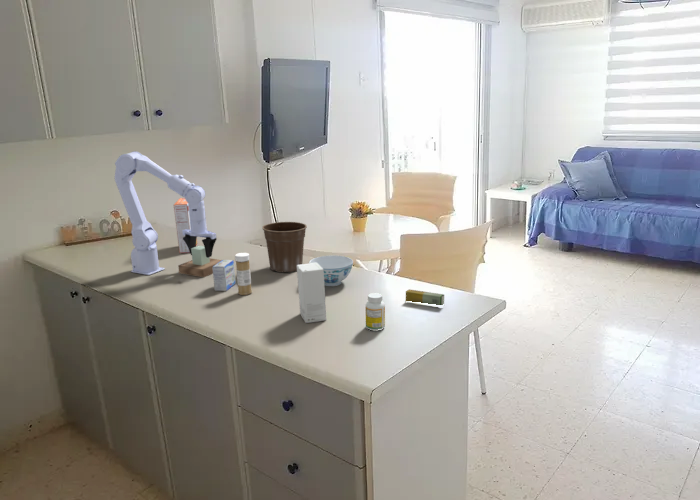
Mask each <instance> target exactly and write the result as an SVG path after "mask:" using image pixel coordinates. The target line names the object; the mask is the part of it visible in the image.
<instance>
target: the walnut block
mask: <svg viewBox="0 0 700 500" xmlns="http://www.w3.org/2000/svg"><path fill="white" fill-rule="evenodd" d="M222 260H223V259H217V258H212V257H210V262H209V263H207V264H204V265H196V264H193V261H192V259H191V260H188V261H186V262H183V263H181V264H178V265H177V266H178V267H177V268H178V273H179V274H182V275H183V274H184V275H188V276H193V277H200V278H206V277H208V276H211V275H213V268H212V267H213V266H215V265H216V264H217V263H219V262H220V261H222Z"/></svg>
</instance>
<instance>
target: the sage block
mask: <svg viewBox="0 0 700 500" xmlns="http://www.w3.org/2000/svg"><path fill="white" fill-rule="evenodd" d="M191 251H192V255H191V260H192V261H193V264H196V265H204V264H207V263H209V262H210V258H211V257H209V258H207V257H206V252H205V247H204V245H196V247H194V248H191Z"/></svg>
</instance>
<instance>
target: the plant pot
mask: <svg viewBox="0 0 700 500" xmlns="http://www.w3.org/2000/svg"><path fill="white" fill-rule="evenodd" d="M262 230H263V233H264V239H265V242H266V249H267V255H268V261H269V262H268V263H269V269H270V270H271V271H273V272H275V271H276V272H277V273H291V272H297V265H300V264H304V263H303V260H304V257H303V256H304V245H305V244H304V243H305V237H306V230H307V224H305V223H303V222H297V221H279V222H272V223H266V224H264V225H263V226H262Z"/></svg>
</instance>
